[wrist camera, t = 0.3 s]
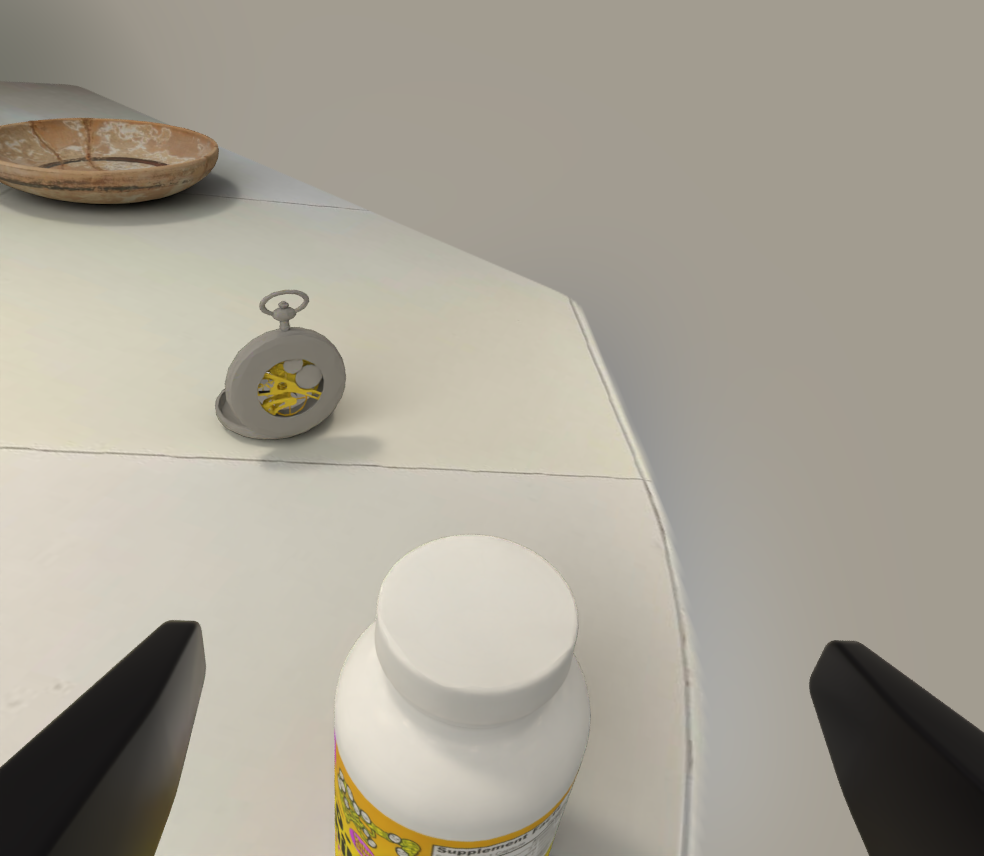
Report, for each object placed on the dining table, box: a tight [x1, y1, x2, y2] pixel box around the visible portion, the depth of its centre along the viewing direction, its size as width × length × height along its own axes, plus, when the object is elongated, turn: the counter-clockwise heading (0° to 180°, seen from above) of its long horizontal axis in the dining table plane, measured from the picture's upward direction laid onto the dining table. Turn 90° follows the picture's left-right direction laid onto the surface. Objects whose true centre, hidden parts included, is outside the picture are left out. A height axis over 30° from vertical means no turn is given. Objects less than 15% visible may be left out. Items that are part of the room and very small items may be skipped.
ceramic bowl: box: [0, 118, 219, 204], centre depth 73 cm, size 23×24×5 cm
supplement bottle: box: [334, 534, 591, 856], centre depth 19 cm, size 7×7×13 cm
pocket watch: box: [215, 290, 346, 439], centre depth 40 cm, size 8×8×10 cm
